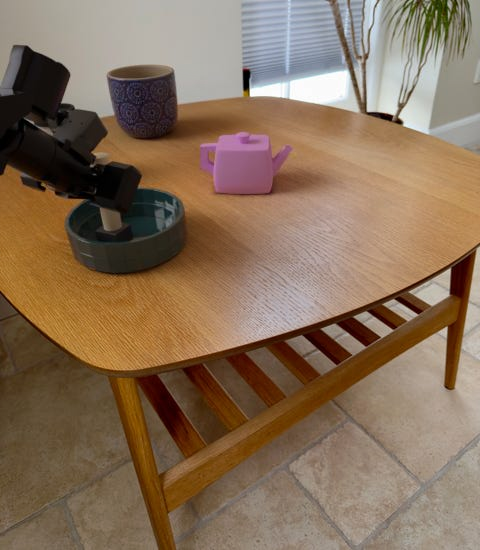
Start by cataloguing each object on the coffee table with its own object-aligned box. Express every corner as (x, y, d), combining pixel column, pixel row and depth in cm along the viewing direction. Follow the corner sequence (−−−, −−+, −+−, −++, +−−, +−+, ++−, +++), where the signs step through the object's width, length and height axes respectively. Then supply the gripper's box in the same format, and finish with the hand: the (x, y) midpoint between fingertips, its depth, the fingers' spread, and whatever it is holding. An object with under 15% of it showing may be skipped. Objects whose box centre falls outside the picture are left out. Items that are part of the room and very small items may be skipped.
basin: (139, 289, 61) (132, 257, 58) (49, 256, 68) (38, 226, 65) (208, 229, 74) (205, 200, 70) (125, 207, 81) (120, 179, 78)
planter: (104, 136, 113) (91, 74, 104) (146, 118, 124) (138, 62, 115) (152, 147, 106) (143, 82, 97) (193, 127, 117) (187, 67, 108)
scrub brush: (118, 248, 68) (101, 160, 60) (97, 244, 69) (78, 158, 61) (133, 237, 71) (118, 152, 63) (112, 233, 72) (96, 150, 65)
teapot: (289, 173, 91) (292, 124, 85) (291, 195, 83) (294, 143, 77) (205, 173, 92) (201, 124, 86) (198, 195, 84) (193, 143, 78)
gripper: (118, 103, 50) (182, 160, 64) (10, 87, 57) (89, 142, 72) (85, 192, 49) (157, 231, 64) (-20, 164, 57) (66, 205, 71)
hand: (115, 198), depth 68 cm, fingers closed on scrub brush, 3 cm apart
